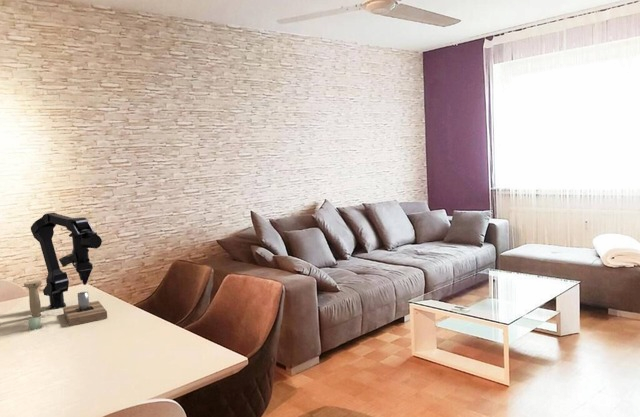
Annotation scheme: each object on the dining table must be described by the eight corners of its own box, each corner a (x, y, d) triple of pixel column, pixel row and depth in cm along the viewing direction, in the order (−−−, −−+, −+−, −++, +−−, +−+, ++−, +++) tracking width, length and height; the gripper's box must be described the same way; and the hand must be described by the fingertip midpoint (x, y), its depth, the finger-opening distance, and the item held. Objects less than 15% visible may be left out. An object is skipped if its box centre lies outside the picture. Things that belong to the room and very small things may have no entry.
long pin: (79, 316, 204) (76, 292, 203) (89, 313, 206) (87, 291, 205) (80, 318, 201) (78, 294, 200) (90, 316, 203) (88, 293, 202)
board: (63, 313, 208) (63, 307, 208) (98, 307, 216) (98, 300, 215) (69, 326, 191) (68, 318, 191) (107, 318, 199) (106, 311, 199)
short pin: (28, 328, 192) (27, 318, 191) (40, 325, 194) (39, 316, 193) (29, 330, 188) (28, 320, 188) (41, 328, 190) (40, 318, 190)
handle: (46, 315, 206) (42, 281, 205) (29, 319, 202) (25, 284, 200) (43, 313, 210) (39, 279, 208) (26, 317, 205) (22, 283, 204)
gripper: (57, 246, 212) (60, 281, 213) (61, 252, 196) (64, 290, 198) (85, 243, 218) (88, 277, 219) (91, 249, 202) (94, 285, 204)
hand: (83, 282), depth 210 cm, fingers open, 9 cm apart
